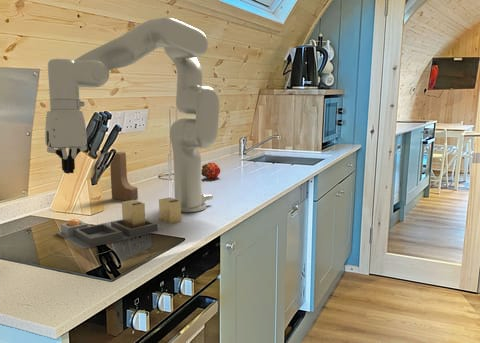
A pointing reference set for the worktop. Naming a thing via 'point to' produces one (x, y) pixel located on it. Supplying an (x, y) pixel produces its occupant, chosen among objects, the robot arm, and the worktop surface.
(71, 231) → the grey compartment tray
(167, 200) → the block
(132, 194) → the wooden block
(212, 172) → the red bumpy rounded lump
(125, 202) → the block
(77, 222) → the button
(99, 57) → the robot arm
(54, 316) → the worktop surface
